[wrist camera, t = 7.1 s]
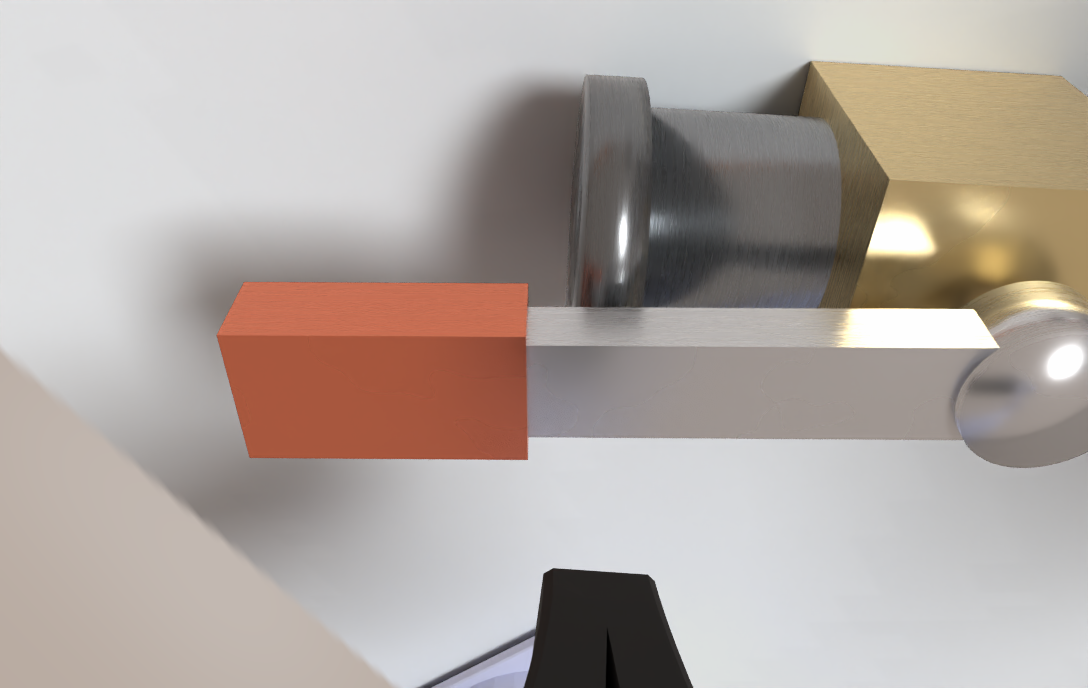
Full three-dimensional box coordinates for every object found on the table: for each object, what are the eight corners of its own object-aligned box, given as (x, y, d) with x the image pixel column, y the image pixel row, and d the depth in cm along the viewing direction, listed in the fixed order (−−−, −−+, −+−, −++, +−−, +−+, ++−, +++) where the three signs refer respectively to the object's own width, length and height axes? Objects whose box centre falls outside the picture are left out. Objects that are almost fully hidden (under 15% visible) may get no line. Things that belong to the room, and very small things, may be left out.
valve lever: (1123, 281, 14) (1174, 334, 13) (1064, 410, 15) (1105, 469, 14) (242, 277, 14) (215, 329, 13) (273, 405, 15) (250, 462, 14)
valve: (564, 276, 21) (567, 442, 16) (584, 31, 17) (594, 155, 13) (1159, 308, 21) (1322, 479, 17) (1290, 74, 18) (1540, 209, 13)
